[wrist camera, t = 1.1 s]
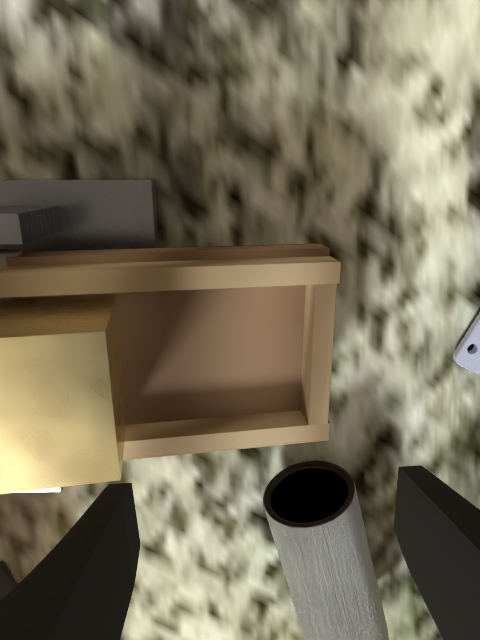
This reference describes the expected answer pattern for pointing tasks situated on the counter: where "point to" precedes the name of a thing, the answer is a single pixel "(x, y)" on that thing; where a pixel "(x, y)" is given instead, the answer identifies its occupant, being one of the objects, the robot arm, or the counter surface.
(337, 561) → the gray cylinder
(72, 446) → the block
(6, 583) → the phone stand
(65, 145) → the counter surface
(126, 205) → the stand
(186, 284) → the wooden tray
